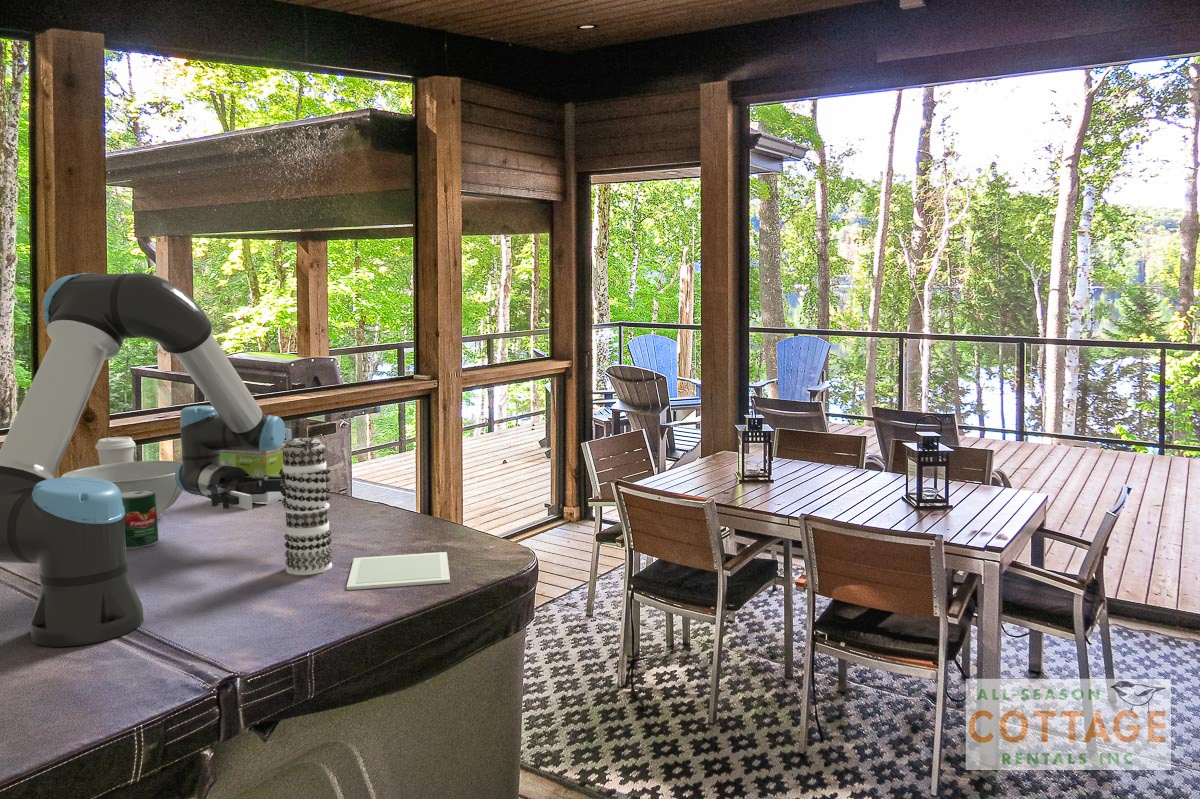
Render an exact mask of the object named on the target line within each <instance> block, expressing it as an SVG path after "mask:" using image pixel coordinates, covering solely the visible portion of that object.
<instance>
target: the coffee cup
mask: <svg viewBox="0 0 1200 799" xmlns="http://www.w3.org/2000/svg"><path fill="white" fill-rule="evenodd" d="M135 447H136V442H135V441H134V440H133V438H132V437H130V436H113V437H104V438H100V439H98V440H97V443H96V444H95V449H96V450H97V454H98V459H99V460H98V461H99V465H105V464H113V463H122V462H134V455H135V454H134V453H135V452H134V451H135Z"/></svg>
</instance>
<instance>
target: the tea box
mask: <svg viewBox="0 0 1200 799" xmlns="http://www.w3.org/2000/svg"><path fill="white" fill-rule="evenodd" d="M285 444H286V443H284V442H283V444H282V446H281V447H280V448H279V449H277V450H268V451H244V450H220V464H225V465H230V466H234V467H239V468H242V469H244V470H245V471H246V472H247V473H248V474H249V476H253V477H264V476H265V475H269V476H280V475H279V472H280V470H281V469H283V450H281V448H282V447H284V446H285ZM284 475H285V473H284ZM258 491H262V487H261V486H260V488H259V490H258ZM283 497H285V496H282V493H281V492H267V493H265V494H253V495H252V502H270V501H273V500H276V499H280V498H283Z"/></svg>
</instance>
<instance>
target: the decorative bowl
mask: <svg viewBox="0 0 1200 799" xmlns="http://www.w3.org/2000/svg"><path fill="white" fill-rule="evenodd" d="M180 463H182V461H176V460H175V461H174V460H139V461H138V460H137V461H133V462H122V463H113V464H105V465H100V464H98V465H93V466H87V467H82V468H78V469H74V470H71V471H68V472H65V473H63V474H62V475H60V477H71V478H75V477H90V478H98V479H103V480H107V481H110V482H112V483H114V484H115V485H116V486H117V487H118V488H119V490H120V491H121V492H123V491H129V490H138V489H151V490H155V491H156V507H157V508H156V509H157V521H158V520H160V518H161V514H163V512H165V511H167V510H168V509H169V508H171V506H172V505H174V504H175V502H176V501H177V500H178V499H179V497H180V496H181V495H182V492H183V491H184V490H182V489H181V488H180V487H179V486H178V485H177V483H176V481H175V472H176V469H177V467H178V466H179V464H180Z"/></svg>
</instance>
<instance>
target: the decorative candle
mask: <svg viewBox="0 0 1200 799" xmlns="http://www.w3.org/2000/svg"><path fill="white" fill-rule="evenodd" d="M284 444H285V446H284V447H282V448H281V450H283V469H281V470H280V472H279V475H280V477H282V478H283V479H282V480H281V483H280V485H281V486H282V490H281V493H282V496H285V498H284V499H283V500H281V504H282V505H283V509H282V511H283V512H284V513H285V520H286V522H285V523H286V524H285V534H284V536H283V537H284V539H285V540H286V542H285V543H284V546H285V549H286V551H285V552H284V555H285V558H286V559H285V562H284V563H285V565H286V566H287V567H286V569H285V571H286V573H288V574H289V575H294V576H308V575H309V576H311V575H316V574H322V573H324V572H325V573H326V572H328V571H329V570H331V569H332V568H333V563H332V560H333V556H332V552H333V548H332V546H331V545H330V544H331V542H332V538H330V536H331V534H332V531H331V529H330V521H329V518H328V514H329V513H328V509H330V506H331V505H330V503H329V502H328V501H329V500H331V496H330V495H328V493H329V492H330V491H331V488H330V487H329V486H328V485H327V484H328V482H330V481H331V477H330V476H328V474H330V473H331V469H329V468H328V467H327V460H326V450H325V448H326V447H327V446H326V445H325V444H323V443H322V441H321V440H320V439H319V438H316V437H295V438H292V439H288V440H287V441H286V443H284ZM284 473H285V475H284Z"/></svg>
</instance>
